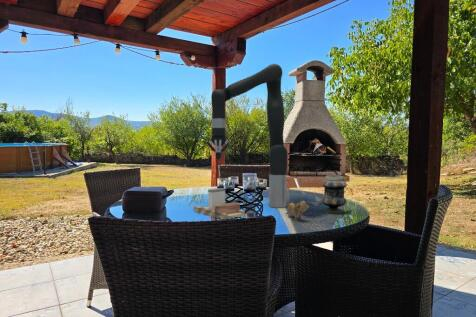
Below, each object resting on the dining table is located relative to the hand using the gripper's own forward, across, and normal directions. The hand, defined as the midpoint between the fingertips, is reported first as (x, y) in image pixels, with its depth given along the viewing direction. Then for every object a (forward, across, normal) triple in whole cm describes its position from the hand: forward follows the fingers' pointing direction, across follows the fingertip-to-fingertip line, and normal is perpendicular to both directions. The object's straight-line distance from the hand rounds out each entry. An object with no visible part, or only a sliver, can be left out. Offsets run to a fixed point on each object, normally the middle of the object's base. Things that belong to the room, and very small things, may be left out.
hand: (218, 159), depth 184 cm
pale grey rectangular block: (+23, +3, -20) cm, 31 cm away
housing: (+25, +4, -21) cm, 33 cm away
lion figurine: (+25, +41, -25) cm, 54 cm away
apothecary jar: (+25, +60, -8) cm, 66 cm away
